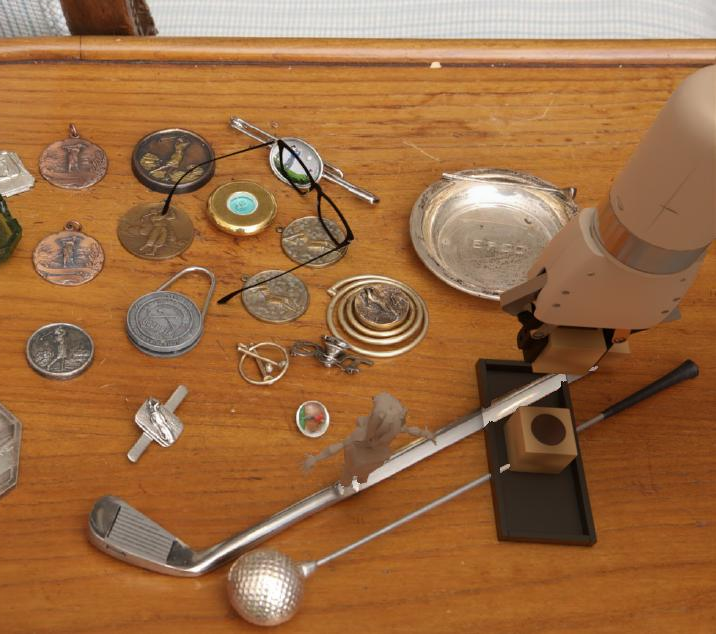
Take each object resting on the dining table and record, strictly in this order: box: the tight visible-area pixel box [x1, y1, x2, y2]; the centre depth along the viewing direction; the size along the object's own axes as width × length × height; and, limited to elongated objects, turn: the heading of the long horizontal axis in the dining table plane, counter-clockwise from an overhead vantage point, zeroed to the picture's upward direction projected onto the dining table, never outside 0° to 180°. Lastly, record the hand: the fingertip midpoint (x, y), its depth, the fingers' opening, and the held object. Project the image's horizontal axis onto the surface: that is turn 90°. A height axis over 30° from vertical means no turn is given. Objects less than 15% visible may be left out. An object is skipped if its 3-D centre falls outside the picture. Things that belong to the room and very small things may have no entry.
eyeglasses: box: [161, 138, 355, 305], centre depth 97 cm, size 16×16×4 cm
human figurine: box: [298, 391, 438, 488], centre depth 76 cm, size 12×4×18 cm, turn 103°
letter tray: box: [474, 357, 598, 548], centre depth 85 cm, size 8×18×2 cm, turn 176°
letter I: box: [532, 325, 607, 376], centre depth 78 cm, size 4×4×5 cm
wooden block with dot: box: [503, 406, 578, 474], centre depth 83 cm, size 4×4×5 cm
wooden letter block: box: [592, 340, 631, 374], centre depth 89 cm, size 4×4×5 cm
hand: (556, 349), depth 80 cm, fingers closed on letter I, 4 cm apart
